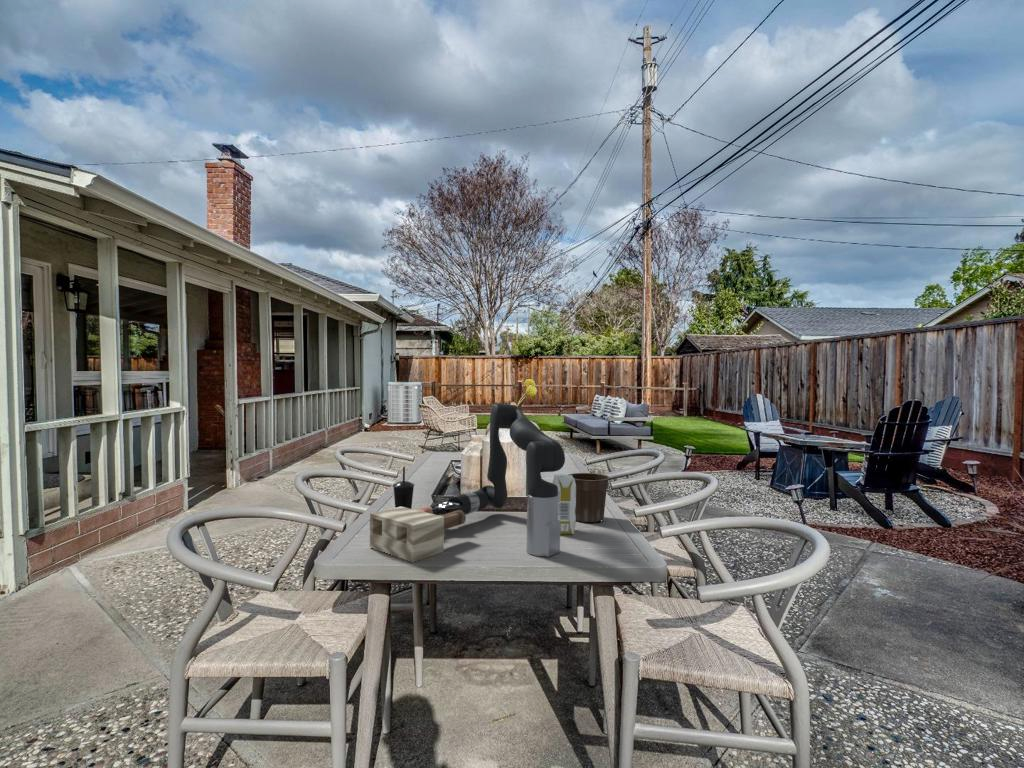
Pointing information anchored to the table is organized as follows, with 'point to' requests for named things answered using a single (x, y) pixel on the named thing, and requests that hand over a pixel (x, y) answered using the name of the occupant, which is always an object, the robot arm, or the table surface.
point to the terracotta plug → (426, 510)
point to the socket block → (407, 533)
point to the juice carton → (566, 502)
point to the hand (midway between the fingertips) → (428, 513)
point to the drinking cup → (403, 493)
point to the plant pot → (590, 496)
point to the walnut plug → (454, 519)
